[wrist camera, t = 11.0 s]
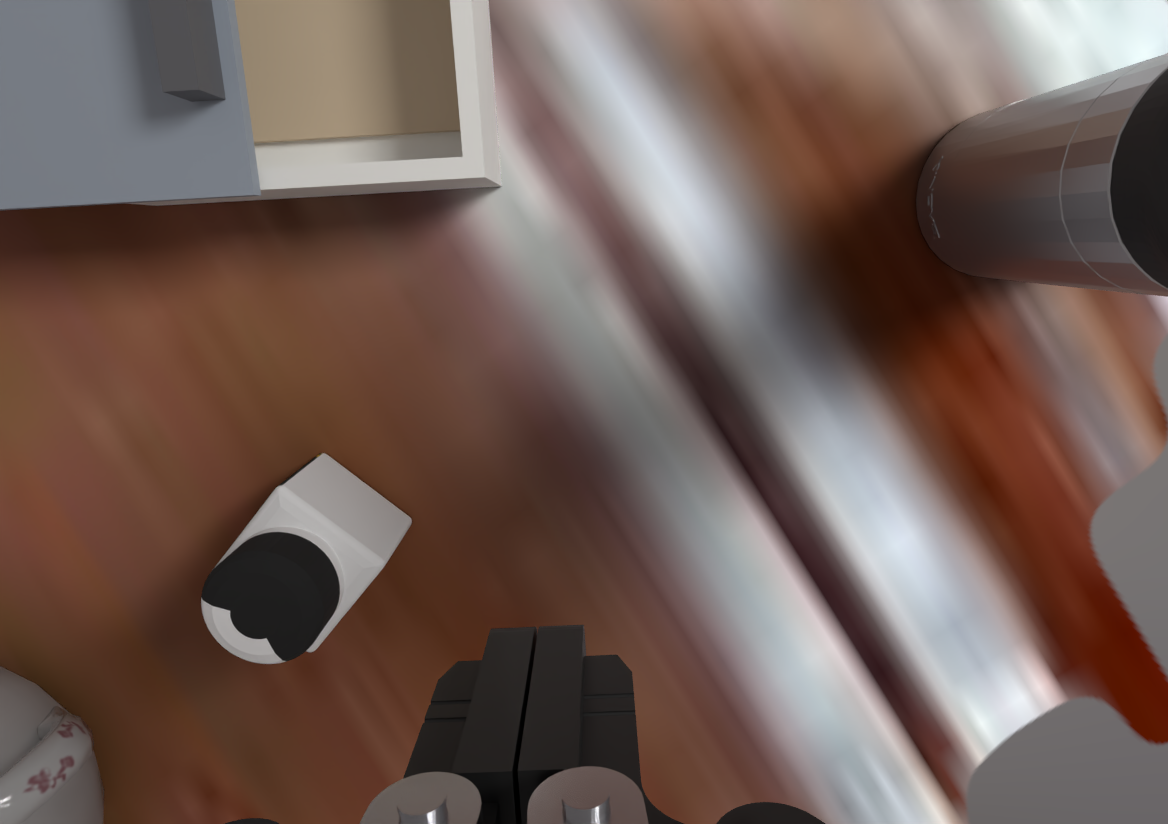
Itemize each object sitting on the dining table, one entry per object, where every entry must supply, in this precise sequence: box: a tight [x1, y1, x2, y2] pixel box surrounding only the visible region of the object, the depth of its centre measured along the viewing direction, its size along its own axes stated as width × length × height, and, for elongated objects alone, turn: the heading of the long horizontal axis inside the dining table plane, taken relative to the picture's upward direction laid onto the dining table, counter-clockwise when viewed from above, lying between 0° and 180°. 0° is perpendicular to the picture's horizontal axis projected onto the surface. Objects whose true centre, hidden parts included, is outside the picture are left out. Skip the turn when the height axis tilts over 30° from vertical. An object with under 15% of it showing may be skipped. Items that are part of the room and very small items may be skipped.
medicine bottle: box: [201, 453, 412, 664], centre depth 44 cm, size 7×7×12 cm
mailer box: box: [126, 0, 502, 206], centre depth 40 cm, size 20×18×7 cm
